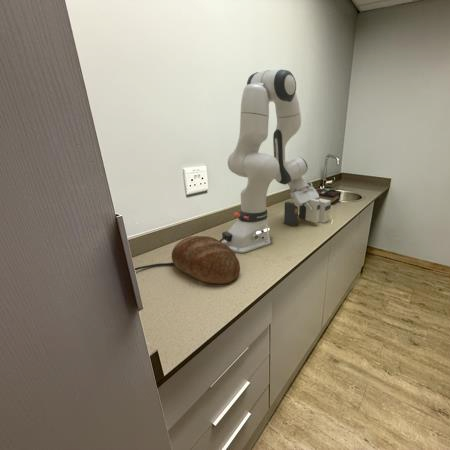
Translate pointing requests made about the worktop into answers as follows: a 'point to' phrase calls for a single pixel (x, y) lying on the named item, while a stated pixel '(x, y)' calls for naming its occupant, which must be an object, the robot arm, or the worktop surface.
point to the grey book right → (302, 211)
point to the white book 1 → (313, 211)
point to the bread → (206, 259)
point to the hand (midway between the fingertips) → (313, 209)
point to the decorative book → (329, 195)
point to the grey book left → (291, 214)
